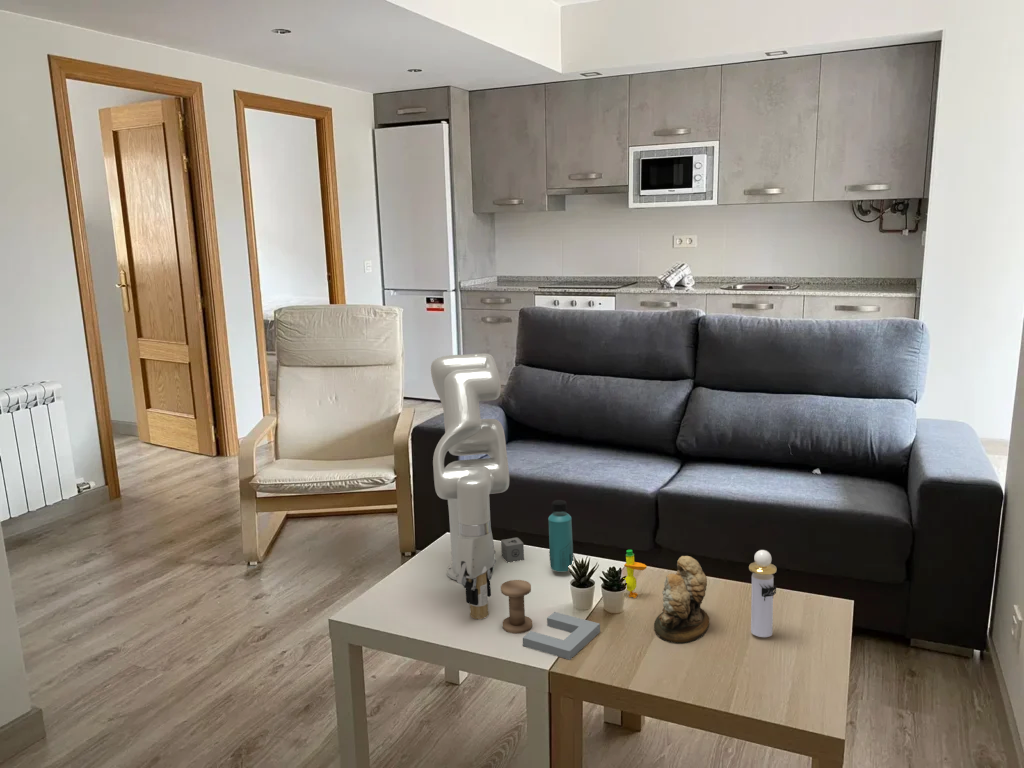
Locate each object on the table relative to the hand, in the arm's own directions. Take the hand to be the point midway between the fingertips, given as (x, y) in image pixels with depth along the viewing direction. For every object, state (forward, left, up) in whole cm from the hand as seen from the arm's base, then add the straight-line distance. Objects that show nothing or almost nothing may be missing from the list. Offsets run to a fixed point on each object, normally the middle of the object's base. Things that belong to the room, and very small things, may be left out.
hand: (478, 598), depth 190 cm
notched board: (0, +23, -4) cm, 23 cm away
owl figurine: (-19, +44, -5) cm, 48 cm away
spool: (0, +11, -4) cm, 12 cm away
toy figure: (-27, +28, -5) cm, 39 cm away
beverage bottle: (-31, +5, -5) cm, 32 cm away
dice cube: (-33, -12, -5) cm, 35 cm away
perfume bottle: (-23, +61, -5) cm, 65 cm away
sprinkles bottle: (0, 0, -5) cm, 5 cm away
